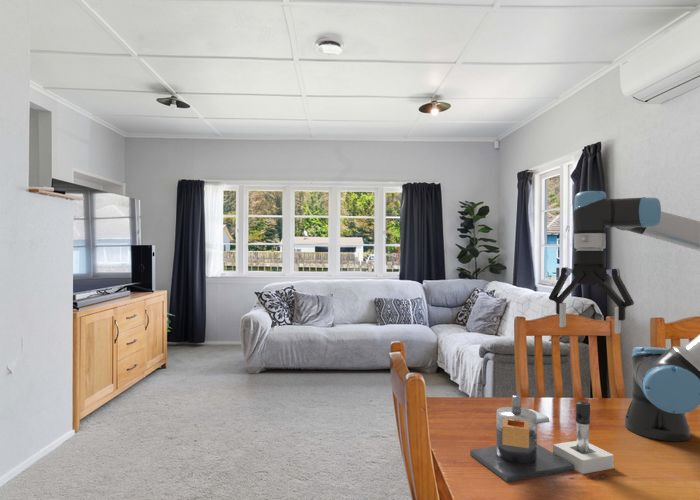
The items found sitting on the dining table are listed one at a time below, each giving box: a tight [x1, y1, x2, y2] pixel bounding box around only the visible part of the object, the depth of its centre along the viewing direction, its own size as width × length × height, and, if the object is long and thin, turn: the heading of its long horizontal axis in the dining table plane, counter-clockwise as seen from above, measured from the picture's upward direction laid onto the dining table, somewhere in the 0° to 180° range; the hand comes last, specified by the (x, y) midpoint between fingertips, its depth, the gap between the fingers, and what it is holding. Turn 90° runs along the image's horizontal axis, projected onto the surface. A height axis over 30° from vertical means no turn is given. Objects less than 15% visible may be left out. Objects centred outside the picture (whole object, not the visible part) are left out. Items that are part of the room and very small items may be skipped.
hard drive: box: [495, 408, 550, 423], centre depth 138 cm, size 2×8×12 cm
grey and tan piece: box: [495, 394, 538, 448], centre depth 107 cm, size 15×9×8 cm, turn 160°
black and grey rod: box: [575, 400, 591, 454], centre depth 109 cm, size 3×3×14 cm
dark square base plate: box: [469, 427, 575, 483], centre depth 109 cm, size 18×14×7 cm
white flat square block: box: [552, 440, 615, 475], centre depth 109 cm, size 9×9×3 cm
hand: (589, 329), depth 123 cm, fingers open, 13 cm apart
